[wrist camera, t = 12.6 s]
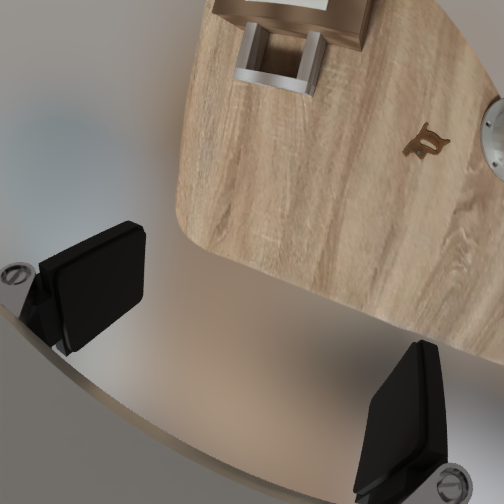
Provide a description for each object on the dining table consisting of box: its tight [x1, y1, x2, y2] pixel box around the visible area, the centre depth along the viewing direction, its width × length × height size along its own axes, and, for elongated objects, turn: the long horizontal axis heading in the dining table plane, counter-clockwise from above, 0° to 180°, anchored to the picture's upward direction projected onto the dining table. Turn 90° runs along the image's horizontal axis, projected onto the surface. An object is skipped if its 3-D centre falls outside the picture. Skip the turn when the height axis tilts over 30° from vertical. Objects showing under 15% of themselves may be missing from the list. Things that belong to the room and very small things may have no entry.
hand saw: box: [402, 123, 450, 160], centre depth 40 cm, size 24×5×1 cm, turn 145°
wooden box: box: [212, 0, 373, 97], centre depth 30 cm, size 18×22×9 cm
